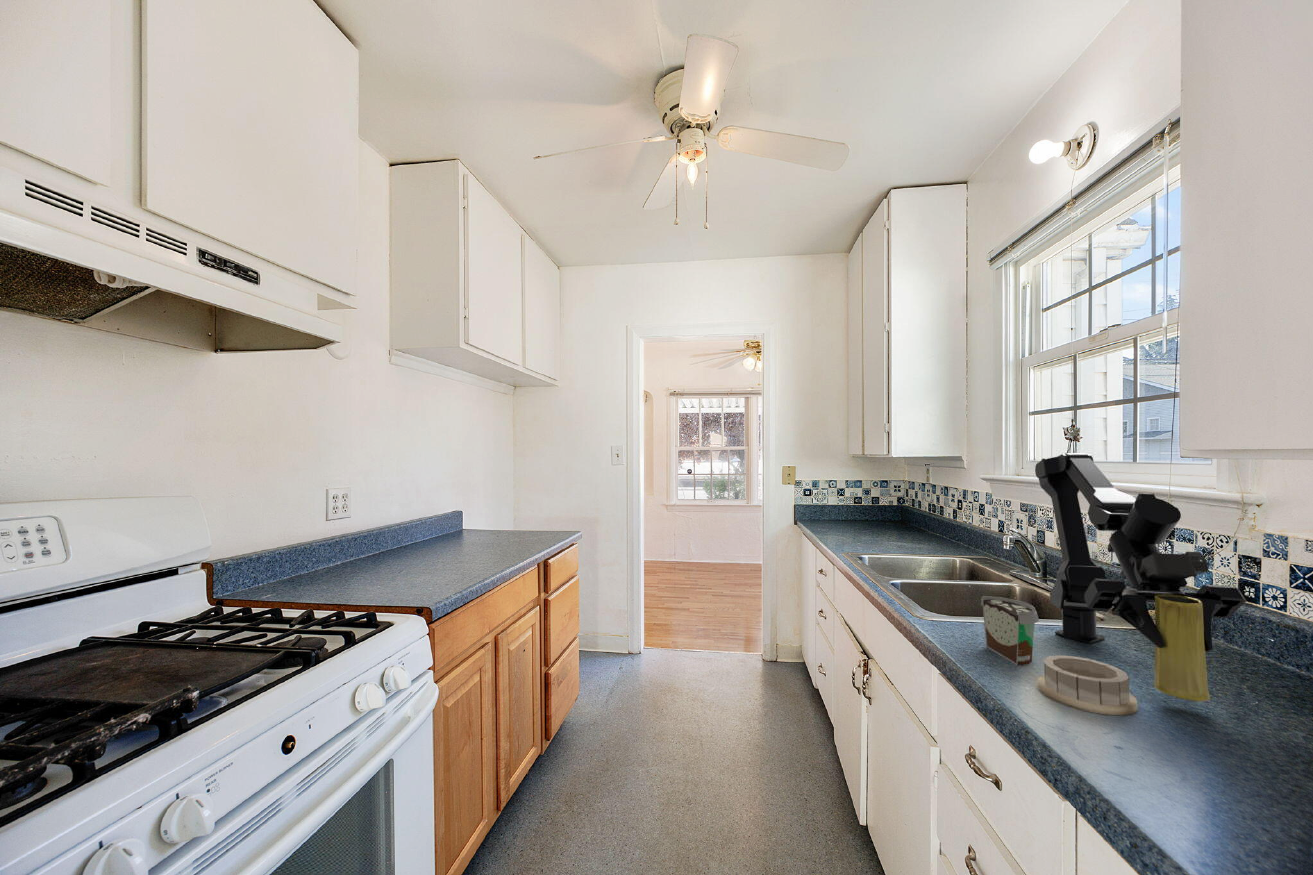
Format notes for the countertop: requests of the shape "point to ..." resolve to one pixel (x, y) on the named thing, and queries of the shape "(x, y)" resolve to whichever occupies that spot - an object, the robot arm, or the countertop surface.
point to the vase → (1180, 648)
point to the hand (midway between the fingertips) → (1185, 648)
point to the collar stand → (1087, 685)
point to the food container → (1009, 628)
